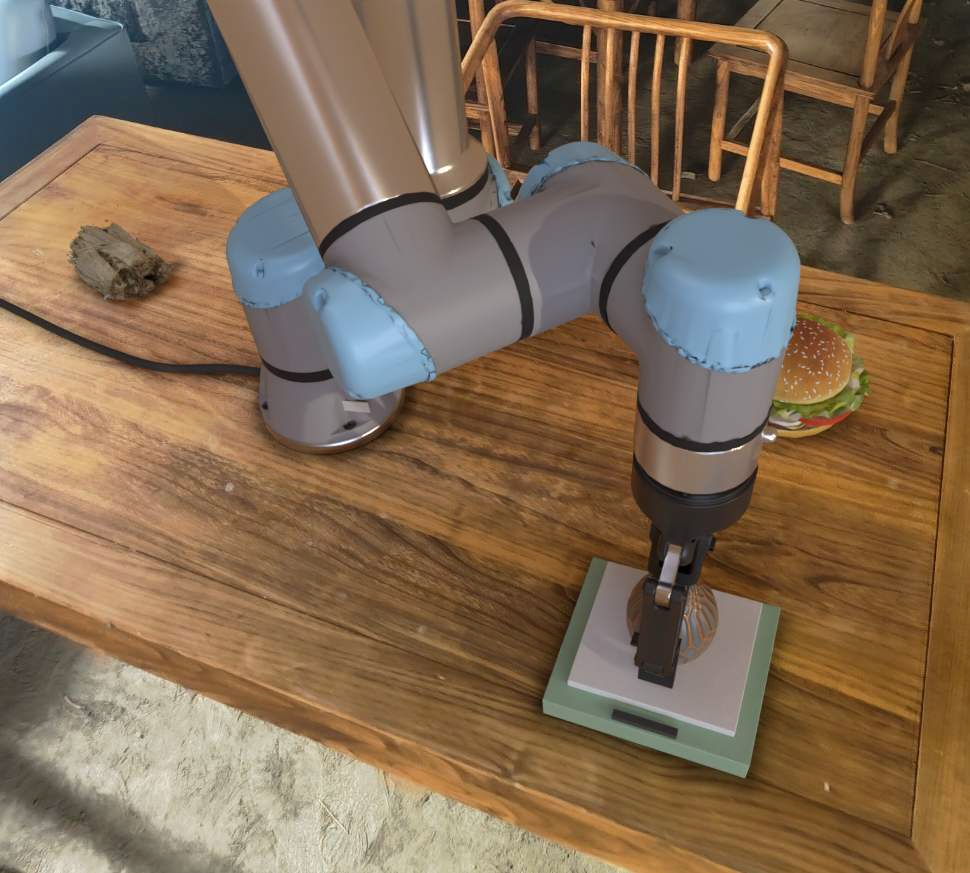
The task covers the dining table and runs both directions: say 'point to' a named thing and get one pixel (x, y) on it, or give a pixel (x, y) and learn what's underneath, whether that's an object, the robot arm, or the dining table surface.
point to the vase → (695, 623)
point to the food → (817, 379)
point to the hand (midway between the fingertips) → (667, 636)
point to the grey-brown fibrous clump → (116, 262)
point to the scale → (654, 708)
